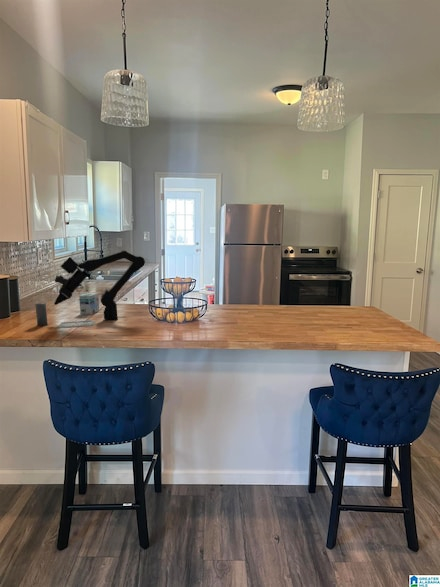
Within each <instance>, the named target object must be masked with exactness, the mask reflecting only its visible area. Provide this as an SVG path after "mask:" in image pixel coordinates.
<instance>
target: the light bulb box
mask: <svg viewBox="0 0 440 587" xmlns="http://www.w3.org/2000/svg"><path fill="white" fill-rule="evenodd" d="M78 298H79V299H78V300H79V311H80V312H79V313H80V315H94V314H95V313H98V312H100V301H99V300H100V298H99V293H98V292H87V293H83V294H81V295H79V297H78Z"/></svg>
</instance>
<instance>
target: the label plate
mask: <svg viewBox="0 0 440 587" xmlns="http://www.w3.org/2000/svg"><path fill="white" fill-rule="evenodd" d="M94 322H95V320H94V319H92V320H78V321H77V320H76V321H62V322H60V324H59V326H58V328H59V329H66V328H67V329H68V328H77V327H78V328H79V327H92V326H94Z"/></svg>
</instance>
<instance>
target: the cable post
mask: <svg viewBox="0 0 440 587" xmlns="http://www.w3.org/2000/svg"><path fill="white" fill-rule="evenodd" d="M35 314H36V316H35V317H36V326H38V327H45V326H48V314H47V303H46V302H38V303H35Z"/></svg>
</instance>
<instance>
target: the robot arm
mask: <svg viewBox="0 0 440 587" xmlns="http://www.w3.org/2000/svg"><path fill="white" fill-rule="evenodd" d="M124 259H125V260H126V261H129V262H130V264H129V265H128V268H127V269H126V270H125V272H123V274H122V275H121V276H120V277H119V279H117V280H116V282H115V283H114V284H113V285H112V287H111V288H110V289H107V288H105V289H104V292H102V293H101V295H100V302H101V305H103V306H104V310H103V319H104V321H117V320H118V319H119V317H118V307H117V303H116V301H115V298H116V296H117V294H118V293H119V291H120V290H121V289H122V288H123V287H124V286H125V284H126V283H127V282H128V281H129V280H130V279H131V277H132V276H133V275H134V274H135V273H137V271H139V270H140V269H142V268H143V267H144V266H145V263H146V260H145V258H144V257H142V256H141V255H134V254H132V253H129V252H128V251H127V250H125V249H124V250H121V251H118V252H116V253H115V252H114V253H112V254H109V255H105V256H103V257H100V258H92V259H91V258H90V259H86V260H85V261H84V262H79V263H78V262H77V261H75V260H74V259H73V258H72V257H71V256H69V257H68V258H67V259H66V260H65V261H64V262H63V263H62V264H61V265H60V268H61V269H63V270H64V271H65V272H66V273H67V274H72V276H71V277H70V276H69V278H66V277H64V276H63V275H59V274H57V275H56V277H55V278H54V282H55V283H59V284H61V286H60V289H59V290H58V295H57V297H56V299H55V300H54V302H53V304H54V305H56V306H57V305H58V304H61V303H63V302H64V301H68V300H69V299H71V298H72V297H73V293H75V291H76V289H77V288H79V287H80V286H81V284H82V283H83V282H84V281H85V280H86V279H87V278H88V279H89V280H90V279H92V278H91V273H90V272H94V271H95V270H97V269H99V268H101V267H102V266H104V265H107V264H111V263H114V262H116V261H119V260H124Z"/></svg>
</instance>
